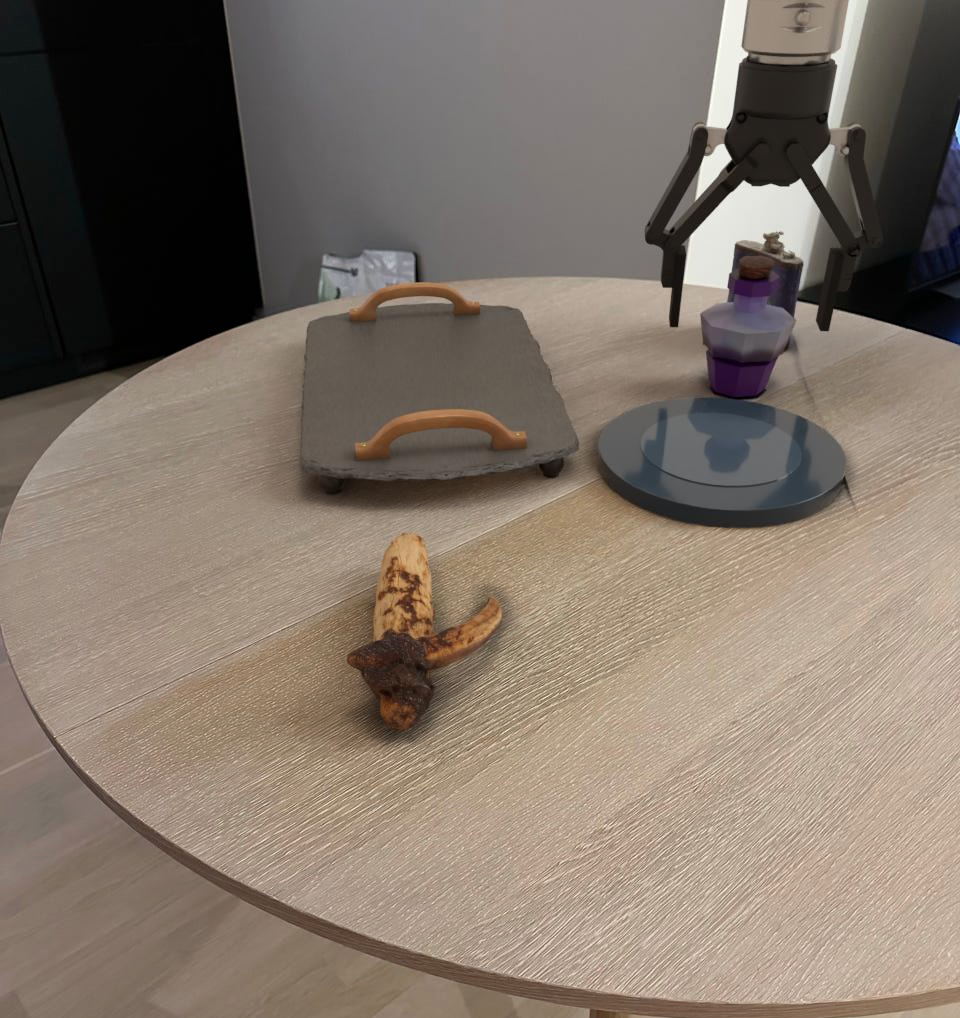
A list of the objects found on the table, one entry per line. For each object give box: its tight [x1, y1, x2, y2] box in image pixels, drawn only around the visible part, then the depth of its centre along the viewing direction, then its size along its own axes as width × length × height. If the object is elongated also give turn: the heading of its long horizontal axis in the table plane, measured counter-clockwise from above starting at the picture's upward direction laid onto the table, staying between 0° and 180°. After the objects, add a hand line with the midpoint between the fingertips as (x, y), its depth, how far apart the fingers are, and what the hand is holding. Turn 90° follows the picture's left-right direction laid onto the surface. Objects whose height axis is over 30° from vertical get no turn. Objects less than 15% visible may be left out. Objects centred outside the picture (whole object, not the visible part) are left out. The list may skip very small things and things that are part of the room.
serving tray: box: [299, 281, 580, 496], centre depth 89 cm, size 39×23×6 cm, turn 7°
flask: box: [726, 230, 805, 352], centre depth 99 cm, size 9×3×11 cm, turn 28°
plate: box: [596, 396, 847, 529], centre depth 80 cm, size 20×20×2 cm
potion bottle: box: [699, 256, 797, 400], centre depth 89 cm, size 9×9×12 cm
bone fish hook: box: [346, 532, 504, 730], centre depth 61 cm, size 9×5×18 cm
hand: (747, 324), depth 89 cm, fingers open, 13 cm apart
